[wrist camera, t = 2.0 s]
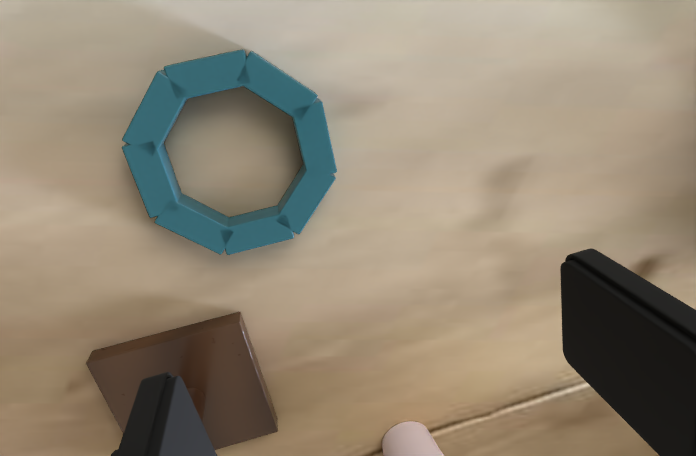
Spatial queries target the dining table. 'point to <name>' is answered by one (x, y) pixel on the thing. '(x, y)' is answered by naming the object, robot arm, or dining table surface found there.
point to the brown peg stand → (194, 377)
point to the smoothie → (409, 441)
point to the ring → (159, 176)
